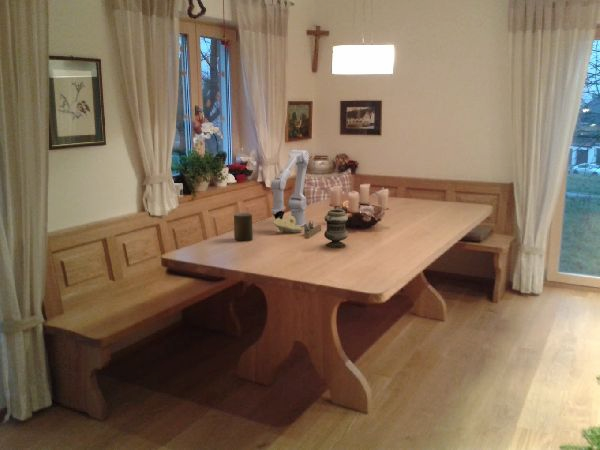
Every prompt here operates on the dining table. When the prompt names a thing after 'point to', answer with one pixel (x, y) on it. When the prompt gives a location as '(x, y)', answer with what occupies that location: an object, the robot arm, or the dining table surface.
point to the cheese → (287, 224)
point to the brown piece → (311, 229)
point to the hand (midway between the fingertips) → (278, 224)
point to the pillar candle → (243, 227)
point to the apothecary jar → (336, 227)
